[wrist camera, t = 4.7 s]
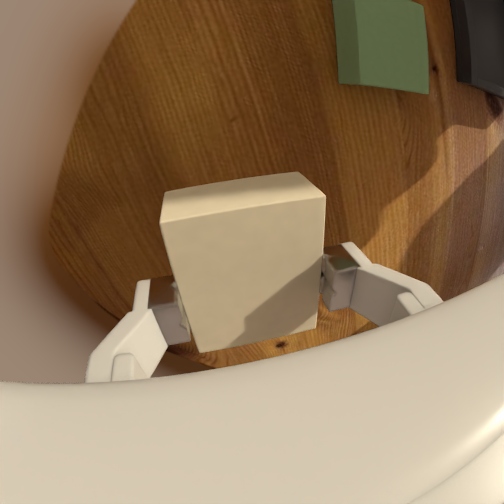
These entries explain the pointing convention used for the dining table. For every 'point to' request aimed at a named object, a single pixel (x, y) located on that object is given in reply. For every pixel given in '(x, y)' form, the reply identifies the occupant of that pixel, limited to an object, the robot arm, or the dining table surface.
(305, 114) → the dining table surface
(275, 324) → the cream pad
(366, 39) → the sage pad
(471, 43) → the dark serving tray
